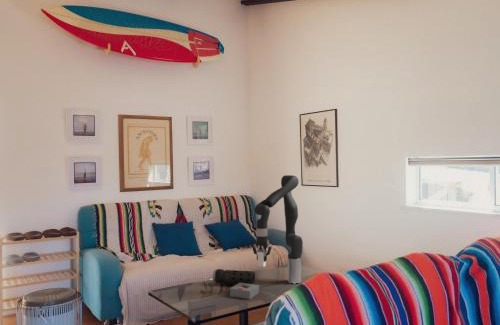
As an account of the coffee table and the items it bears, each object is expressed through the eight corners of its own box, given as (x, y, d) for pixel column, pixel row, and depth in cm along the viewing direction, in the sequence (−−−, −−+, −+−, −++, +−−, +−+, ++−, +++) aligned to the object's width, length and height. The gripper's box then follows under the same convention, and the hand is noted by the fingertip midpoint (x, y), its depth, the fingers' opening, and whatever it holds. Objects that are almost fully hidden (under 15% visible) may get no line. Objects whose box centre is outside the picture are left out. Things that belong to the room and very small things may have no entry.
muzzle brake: (252, 288, 292) (252, 272, 292) (212, 285, 298) (212, 270, 298) (255, 284, 301) (255, 269, 301) (216, 282, 307) (216, 267, 307)
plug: (260, 264, 289) (260, 248, 289) (265, 265, 287) (265, 248, 287) (257, 266, 285) (257, 249, 285) (263, 266, 283) (263, 250, 283)
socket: (239, 290, 288) (239, 281, 288) (259, 292, 282) (259, 283, 282) (229, 296, 275) (229, 287, 275) (249, 299, 269) (249, 289, 269)
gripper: (274, 235, 286) (273, 261, 286) (254, 233, 292) (254, 258, 292) (269, 236, 279) (269, 263, 280) (249, 235, 285) (249, 261, 286)
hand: (261, 260), depth 286 cm, fingers closed on plug, 4 cm apart
